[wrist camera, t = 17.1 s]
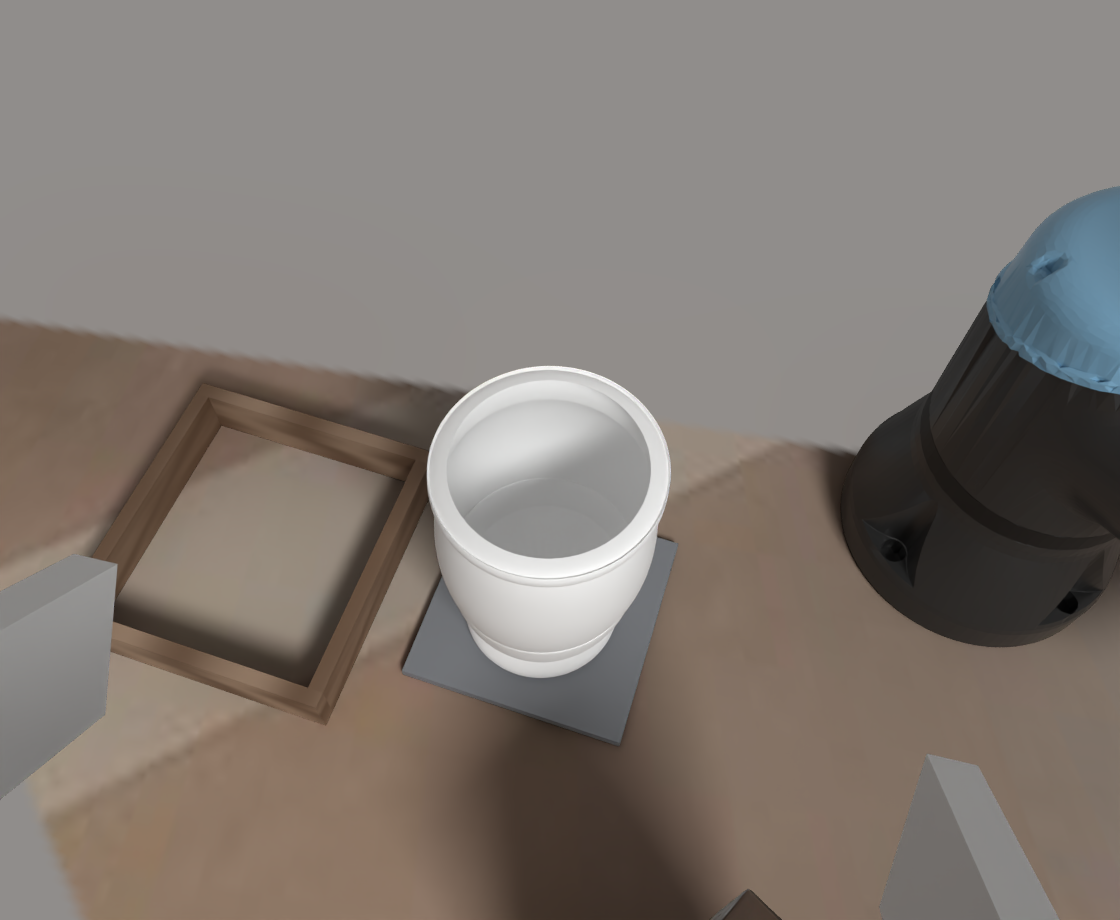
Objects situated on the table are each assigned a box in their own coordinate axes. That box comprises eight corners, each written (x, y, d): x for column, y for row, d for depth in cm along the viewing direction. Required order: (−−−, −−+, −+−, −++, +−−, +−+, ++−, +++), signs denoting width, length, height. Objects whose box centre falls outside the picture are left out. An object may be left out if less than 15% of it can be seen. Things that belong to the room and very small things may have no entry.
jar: (498, 494, 58) (493, 333, 45) (663, 561, 56) (706, 413, 43) (412, 652, 53) (378, 520, 40) (591, 731, 51) (615, 620, 38)
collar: (437, 478, 59) (434, 452, 57) (325, 725, 51) (315, 707, 49) (215, 411, 61) (202, 382, 58) (75, 639, 53) (52, 617, 51)
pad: (676, 548, 57) (678, 543, 57) (619, 746, 51) (620, 743, 51) (481, 489, 59) (481, 483, 58) (402, 674, 53) (401, 670, 52)
